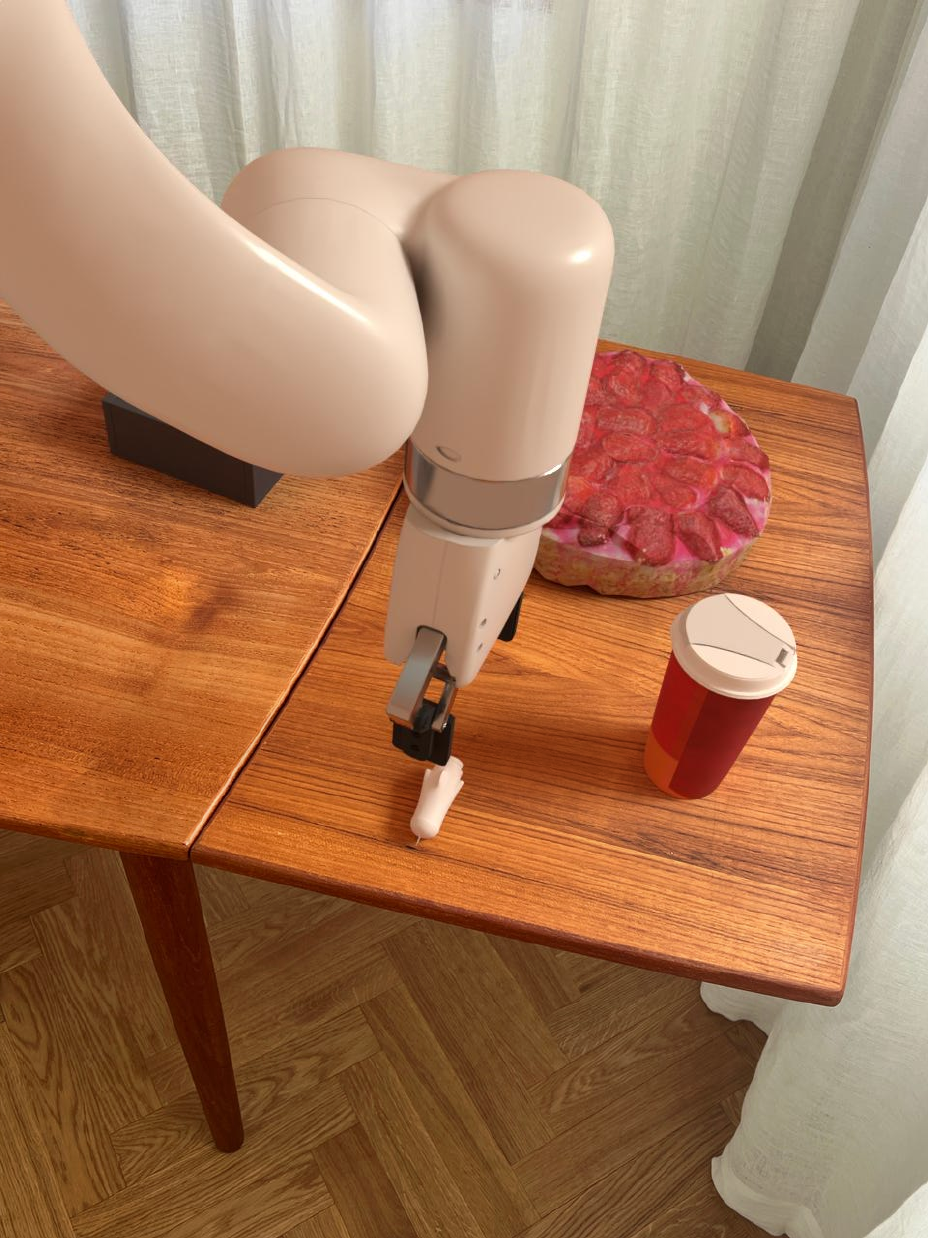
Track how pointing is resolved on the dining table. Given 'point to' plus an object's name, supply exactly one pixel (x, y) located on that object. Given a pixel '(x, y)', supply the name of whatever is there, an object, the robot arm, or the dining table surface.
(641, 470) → the cake
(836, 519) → the dining table surface
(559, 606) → the dining table surface
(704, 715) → the paper cup
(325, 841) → the dining table surface
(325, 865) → the dining table surface
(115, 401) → the bin
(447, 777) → the small white plastic part
